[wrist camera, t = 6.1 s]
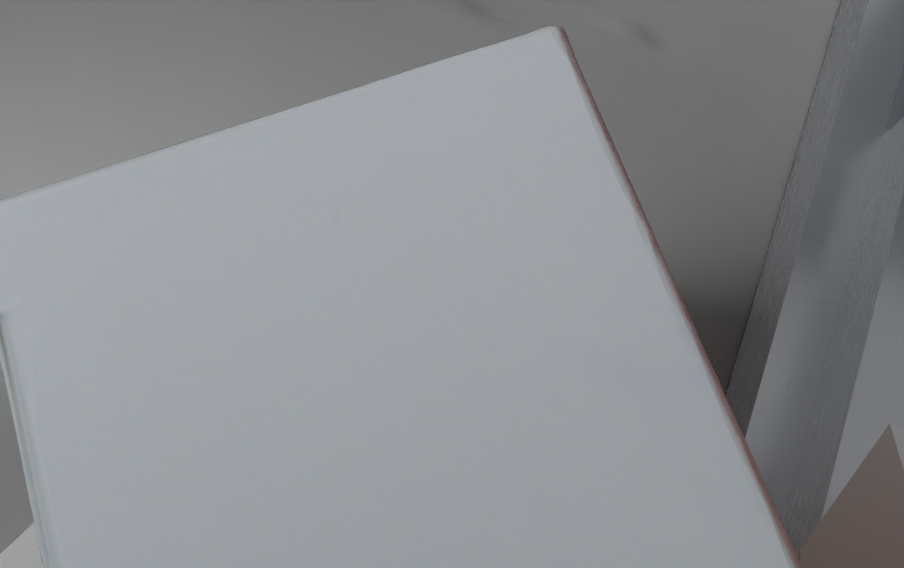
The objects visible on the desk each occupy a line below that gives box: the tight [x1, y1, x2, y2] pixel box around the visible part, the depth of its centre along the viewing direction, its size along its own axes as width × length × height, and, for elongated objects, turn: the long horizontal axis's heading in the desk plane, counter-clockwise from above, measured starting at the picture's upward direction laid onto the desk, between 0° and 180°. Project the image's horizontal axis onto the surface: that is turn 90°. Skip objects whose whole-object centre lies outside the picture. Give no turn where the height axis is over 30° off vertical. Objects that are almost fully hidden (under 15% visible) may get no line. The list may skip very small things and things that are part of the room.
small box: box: [0, 26, 802, 568], centre depth 11 cm, size 8×6×10 cm
